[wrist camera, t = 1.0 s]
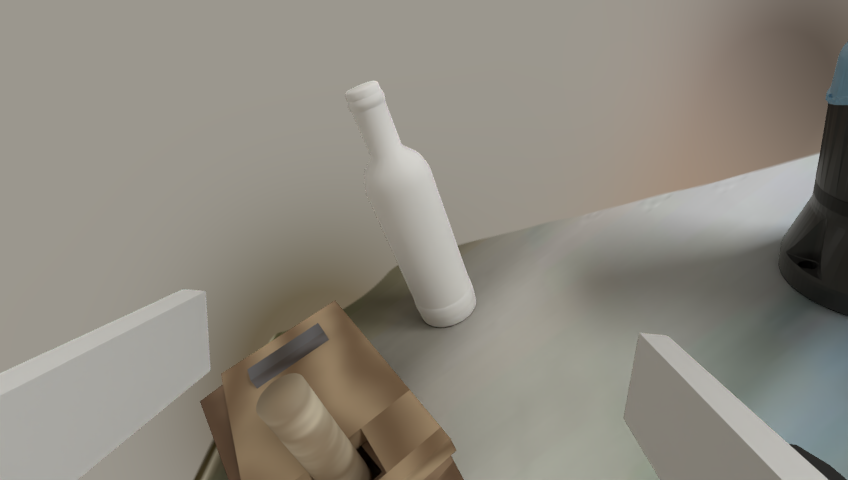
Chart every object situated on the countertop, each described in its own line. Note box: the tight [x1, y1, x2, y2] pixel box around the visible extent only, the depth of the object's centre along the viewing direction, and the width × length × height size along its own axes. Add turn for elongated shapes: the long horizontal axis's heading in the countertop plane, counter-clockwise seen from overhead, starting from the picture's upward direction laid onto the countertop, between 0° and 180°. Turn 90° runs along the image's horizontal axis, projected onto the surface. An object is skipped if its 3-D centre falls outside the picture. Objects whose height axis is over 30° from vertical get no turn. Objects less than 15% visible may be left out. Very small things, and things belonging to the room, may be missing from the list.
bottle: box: [345, 81, 476, 327], centre depth 47 cm, size 8×8×30 cm
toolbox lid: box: [221, 301, 456, 480], centre depth 35 cm, size 14×24×3 cm, turn 33°
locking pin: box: [256, 373, 376, 480], centre depth 28 cm, size 3×3×14 cm
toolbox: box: [200, 385, 464, 480], centre depth 38 cm, size 14×24×8 cm, turn 40°
